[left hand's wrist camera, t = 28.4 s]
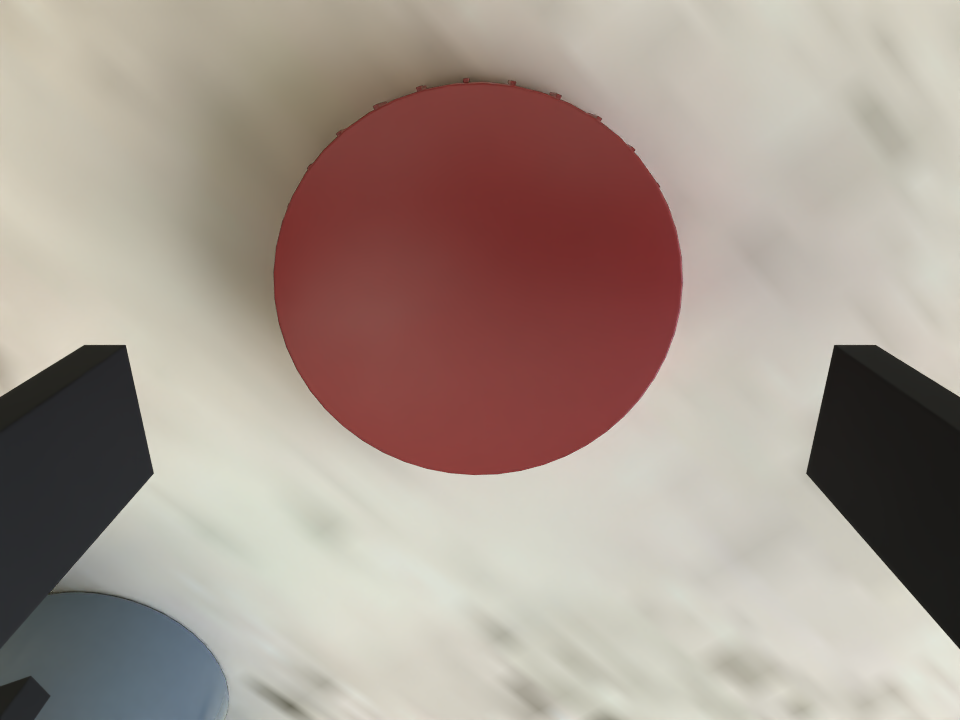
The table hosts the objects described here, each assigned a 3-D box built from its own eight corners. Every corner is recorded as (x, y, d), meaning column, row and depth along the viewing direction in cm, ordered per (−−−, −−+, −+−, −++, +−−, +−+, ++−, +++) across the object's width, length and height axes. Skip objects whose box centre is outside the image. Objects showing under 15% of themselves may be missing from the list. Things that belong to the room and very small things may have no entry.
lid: (223, 170, 16) (189, 183, 14) (602, 9, 14) (620, -1, 12) (386, 478, 19) (376, 521, 17) (701, 374, 18) (727, 408, 16)
